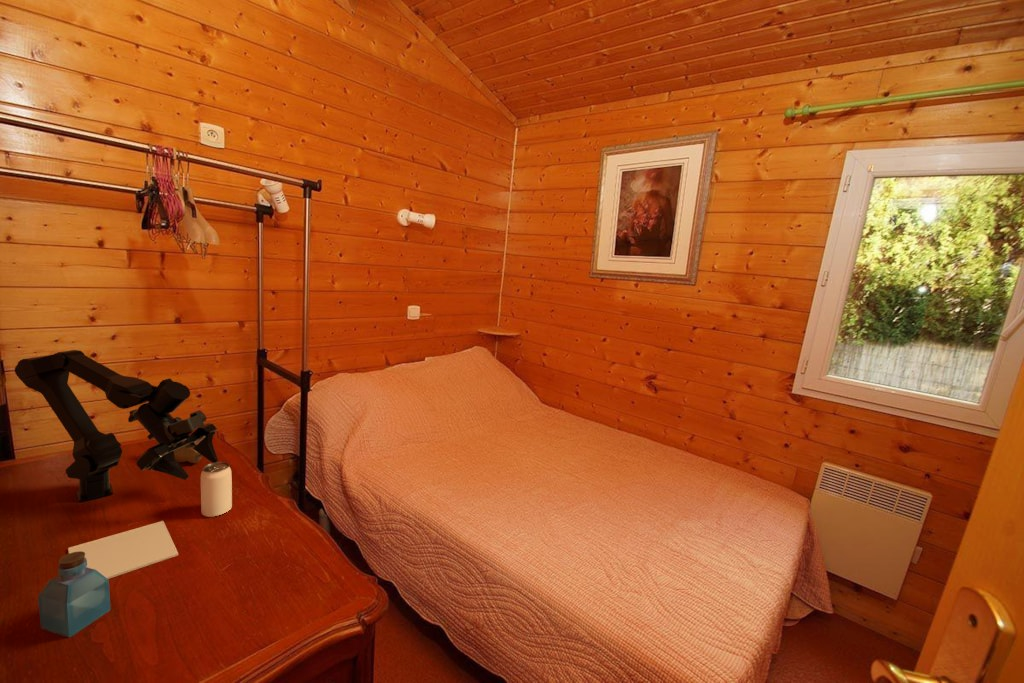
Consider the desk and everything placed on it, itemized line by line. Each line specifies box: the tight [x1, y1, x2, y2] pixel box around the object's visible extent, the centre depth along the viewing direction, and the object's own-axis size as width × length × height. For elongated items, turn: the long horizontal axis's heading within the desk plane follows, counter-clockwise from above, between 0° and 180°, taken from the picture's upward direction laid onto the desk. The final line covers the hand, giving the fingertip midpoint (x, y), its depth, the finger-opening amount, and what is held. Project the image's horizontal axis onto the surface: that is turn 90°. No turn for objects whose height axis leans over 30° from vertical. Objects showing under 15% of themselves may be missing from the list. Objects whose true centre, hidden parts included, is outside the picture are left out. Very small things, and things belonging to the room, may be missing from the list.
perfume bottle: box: [37, 551, 111, 639], centre depth 75 cm, size 6×6×12 cm
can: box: [200, 461, 233, 518], centre depth 109 cm, size 6×6×12 cm
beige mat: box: [67, 520, 179, 580], centre depth 93 cm, size 16×16×1 cm
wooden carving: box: [155, 434, 203, 464], centre depth 134 cm, size 16×5×10 cm, turn 80°
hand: (202, 470), depth 109 cm, fingers open, 9 cm apart
